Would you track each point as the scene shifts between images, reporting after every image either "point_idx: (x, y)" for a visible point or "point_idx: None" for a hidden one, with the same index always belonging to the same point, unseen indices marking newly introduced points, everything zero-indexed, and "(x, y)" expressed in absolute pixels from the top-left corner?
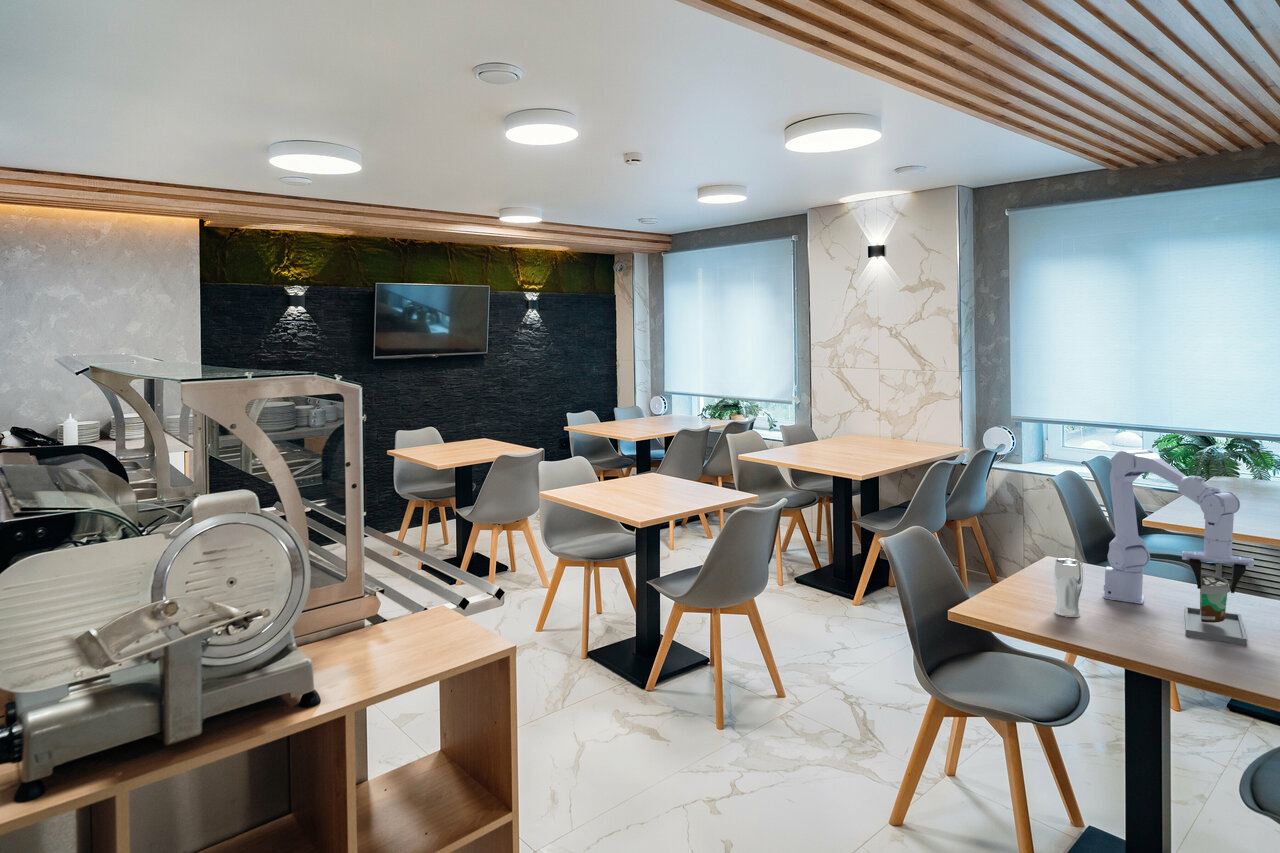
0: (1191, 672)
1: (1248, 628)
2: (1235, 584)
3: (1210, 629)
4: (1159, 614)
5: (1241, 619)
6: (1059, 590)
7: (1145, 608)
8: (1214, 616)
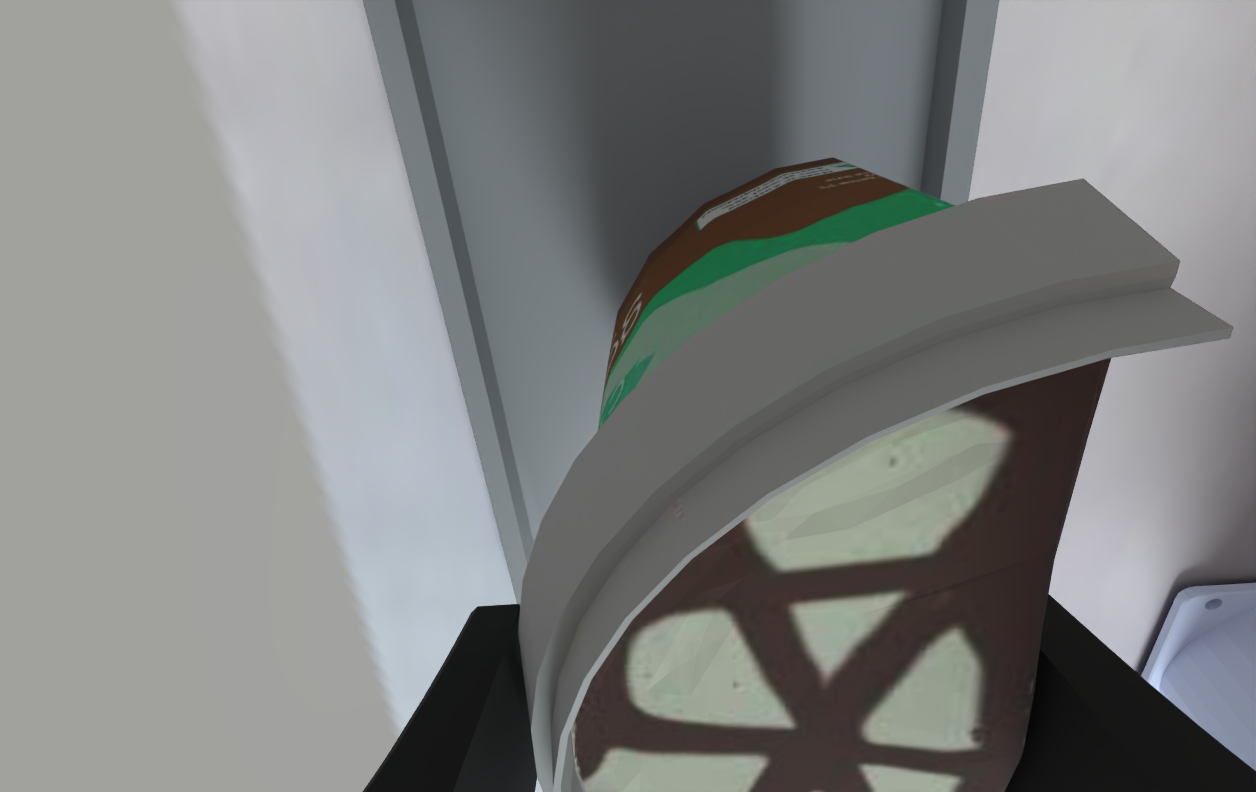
0: None
1: (456, 465)
2: (403, 759)
3: None
4: (1102, 430)
5: (503, 540)
6: None
7: (1181, 516)
8: (707, 224)
